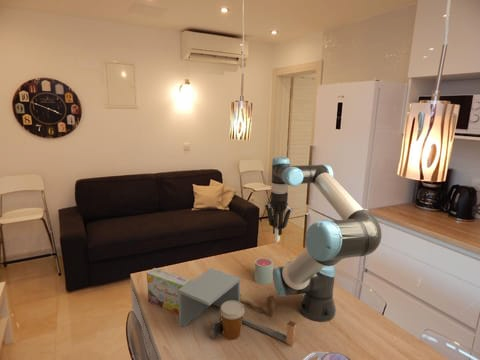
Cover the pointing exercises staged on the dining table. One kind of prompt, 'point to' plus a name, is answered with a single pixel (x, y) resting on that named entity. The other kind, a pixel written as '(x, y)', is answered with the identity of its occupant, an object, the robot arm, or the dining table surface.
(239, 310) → the disposable coffee cup
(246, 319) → the wood-tipped metal rod
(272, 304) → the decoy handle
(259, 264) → the mug
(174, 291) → the snack box
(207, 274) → the shelf cubby
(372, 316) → the dining table surface
